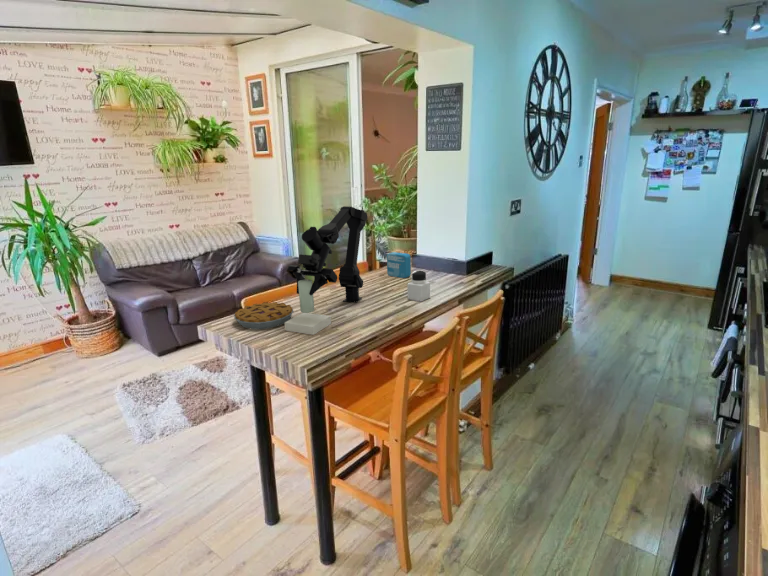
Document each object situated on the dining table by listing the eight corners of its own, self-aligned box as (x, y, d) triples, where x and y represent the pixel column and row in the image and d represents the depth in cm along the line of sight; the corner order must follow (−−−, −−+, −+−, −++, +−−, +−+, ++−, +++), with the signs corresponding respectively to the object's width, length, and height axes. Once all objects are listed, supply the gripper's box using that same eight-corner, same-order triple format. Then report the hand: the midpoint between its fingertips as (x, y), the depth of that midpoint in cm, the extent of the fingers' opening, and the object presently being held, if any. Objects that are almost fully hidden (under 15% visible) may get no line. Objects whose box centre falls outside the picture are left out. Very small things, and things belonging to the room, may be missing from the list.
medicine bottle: (430, 297, 193) (430, 271, 190) (420, 301, 188) (420, 274, 185) (416, 295, 197) (416, 268, 194) (407, 299, 192) (407, 272, 189)
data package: (387, 275, 233) (386, 253, 229) (392, 273, 236) (391, 251, 233) (406, 278, 226) (405, 255, 222) (410, 276, 229) (410, 253, 226)
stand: (304, 319, 170) (303, 312, 169) (331, 323, 165) (330, 315, 164) (285, 330, 160) (284, 322, 159) (313, 334, 155) (312, 326, 154)
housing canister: (310, 307, 164) (307, 278, 161) (316, 310, 160) (314, 281, 157) (297, 310, 161) (295, 281, 158) (304, 313, 157) (302, 283, 154)
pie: (270, 308, 186) (269, 296, 184) (305, 318, 172) (304, 306, 171) (223, 323, 169) (222, 310, 168) (258, 335, 156) (256, 322, 155)
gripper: (287, 243, 161) (271, 280, 155) (331, 246, 154) (316, 285, 147) (301, 260, 171) (286, 295, 164) (343, 263, 163) (330, 300, 157)
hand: (303, 294), depth 158 cm, fingers closed on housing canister, 5 cm apart
